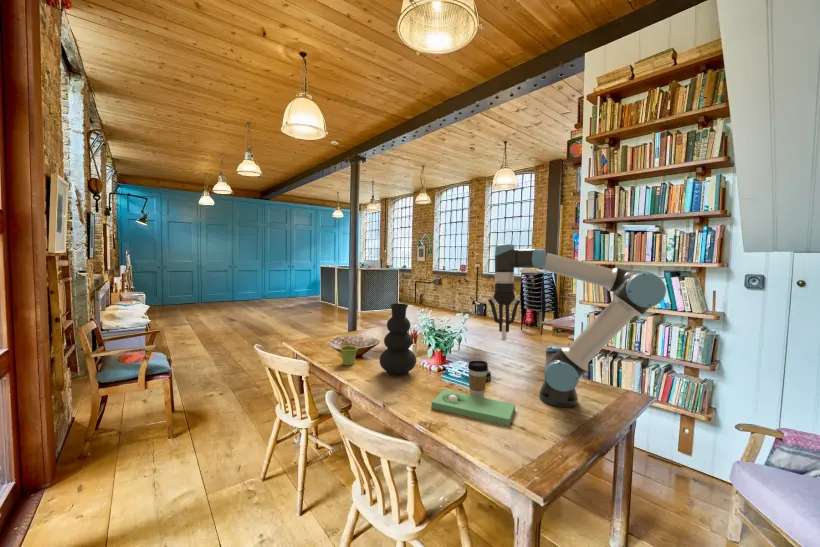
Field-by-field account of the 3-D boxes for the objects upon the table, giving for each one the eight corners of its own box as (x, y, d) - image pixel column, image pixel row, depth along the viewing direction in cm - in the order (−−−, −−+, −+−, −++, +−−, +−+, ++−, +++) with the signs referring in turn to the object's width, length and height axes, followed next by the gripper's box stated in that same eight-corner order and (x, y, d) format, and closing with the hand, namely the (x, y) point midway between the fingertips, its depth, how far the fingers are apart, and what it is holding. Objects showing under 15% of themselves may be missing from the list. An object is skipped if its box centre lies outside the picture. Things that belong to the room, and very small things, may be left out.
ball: (454, 392, 144) (448, 399, 144) (451, 392, 140) (444, 399, 141) (461, 400, 142) (454, 407, 142) (457, 400, 138) (451, 407, 139)
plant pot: (351, 360, 195) (352, 344, 195) (360, 364, 188) (360, 348, 187) (336, 363, 189) (336, 347, 189) (345, 367, 182) (345, 351, 181)
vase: (403, 383, 163) (405, 309, 161) (371, 375, 172) (373, 305, 170) (422, 371, 179) (423, 304, 177) (392, 365, 188) (393, 300, 186)
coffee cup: (486, 401, 145) (488, 366, 144) (466, 399, 147) (467, 364, 146) (486, 393, 153) (488, 360, 152) (467, 391, 155) (468, 358, 154)
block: (515, 410, 138) (515, 404, 138) (509, 426, 125) (509, 419, 125) (443, 395, 150) (443, 389, 150) (431, 408, 138) (431, 402, 138)
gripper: (521, 282, 143) (521, 338, 144) (489, 281, 147) (489, 336, 149) (520, 283, 136) (520, 343, 137) (486, 282, 140) (486, 340, 142)
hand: (504, 339), depth 143 cm, fingers closed
